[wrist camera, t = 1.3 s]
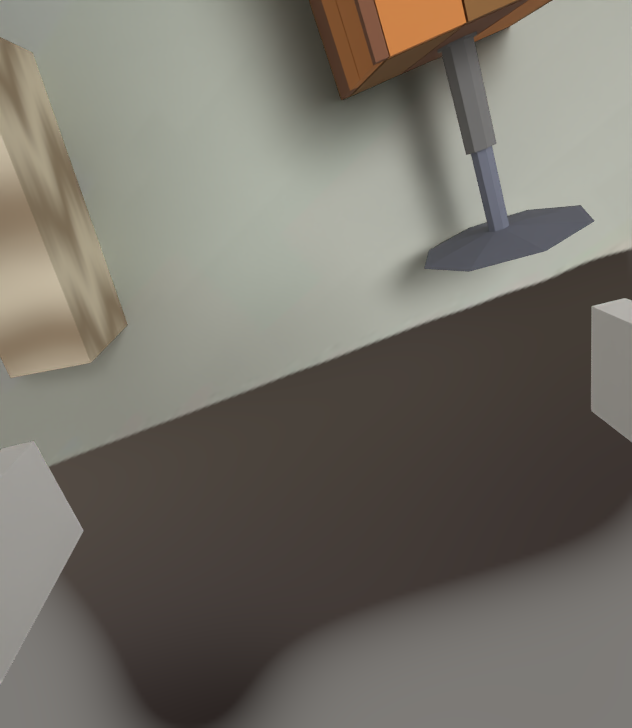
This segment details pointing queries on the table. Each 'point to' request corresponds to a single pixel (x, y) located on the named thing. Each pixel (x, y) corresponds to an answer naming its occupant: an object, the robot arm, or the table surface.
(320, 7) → the wooden box with plunger
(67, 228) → the cream wooden block
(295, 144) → the table surface
